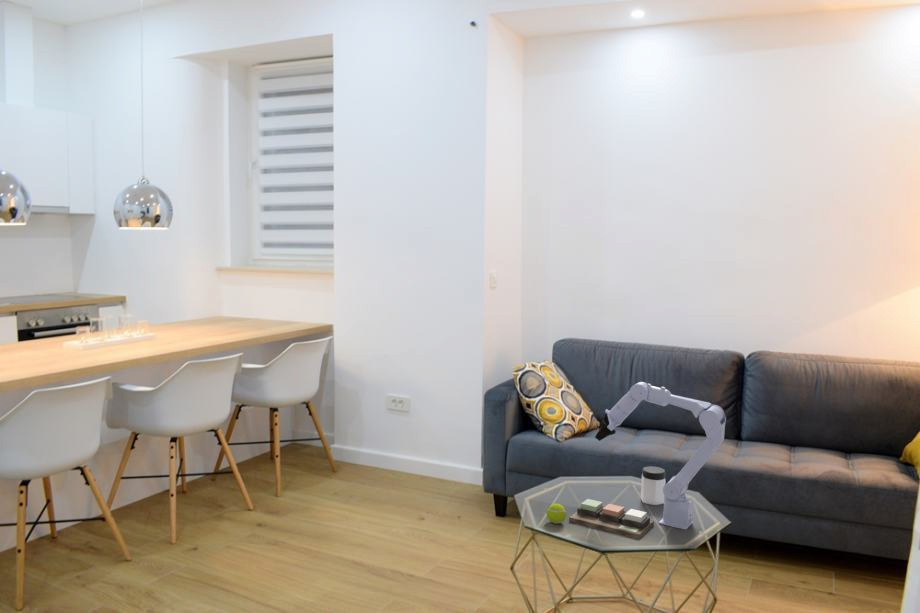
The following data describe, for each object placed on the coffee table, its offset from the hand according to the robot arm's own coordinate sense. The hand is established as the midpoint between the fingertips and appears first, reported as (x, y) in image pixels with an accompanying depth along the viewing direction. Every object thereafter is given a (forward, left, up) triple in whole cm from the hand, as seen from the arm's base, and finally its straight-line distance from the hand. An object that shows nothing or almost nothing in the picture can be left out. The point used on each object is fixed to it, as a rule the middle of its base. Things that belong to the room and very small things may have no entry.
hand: (598, 434), depth 278 cm
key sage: (-3, +10, -24) cm, 26 cm away
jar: (-15, -17, -27) cm, 35 cm away
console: (-11, +12, -27) cm, 31 cm away
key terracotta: (-11, +10, -24) cm, 28 cm away
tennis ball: (+5, +23, -27) cm, 36 cm away
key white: (-19, +10, -24) cm, 32 cm away
